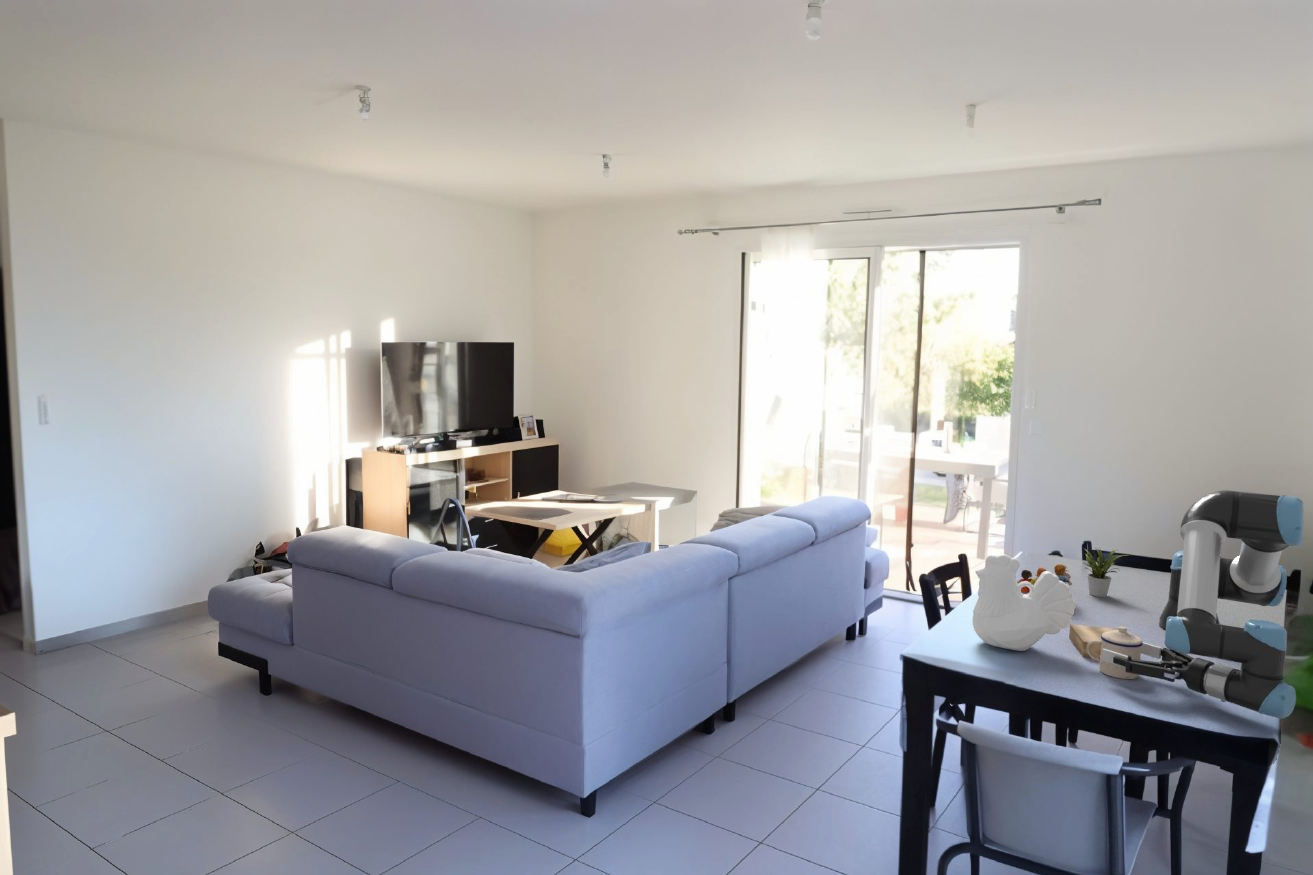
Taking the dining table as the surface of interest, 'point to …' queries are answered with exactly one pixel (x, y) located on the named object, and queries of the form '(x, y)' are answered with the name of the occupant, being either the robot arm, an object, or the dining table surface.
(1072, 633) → the oak slab
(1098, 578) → the house plant
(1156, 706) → the dining table surface
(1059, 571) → the doll family
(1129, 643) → the teacup with lid
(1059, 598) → the decorative rooster
